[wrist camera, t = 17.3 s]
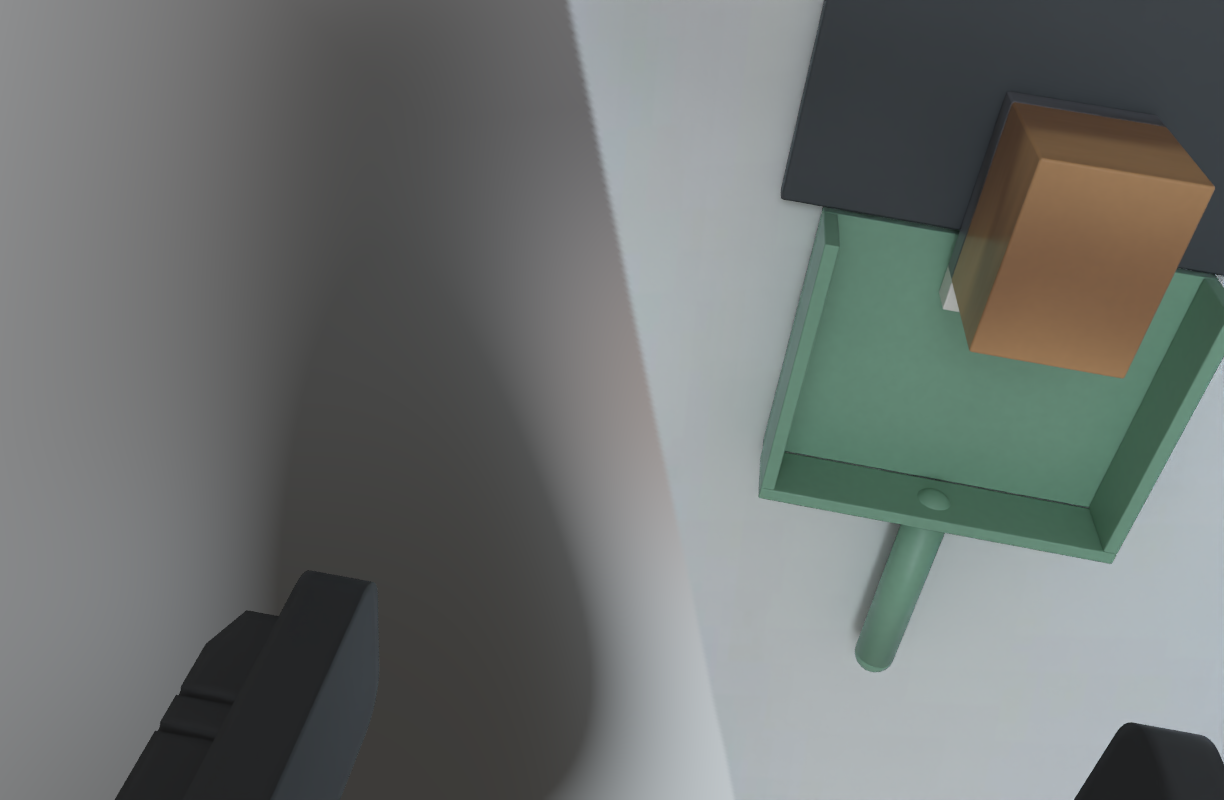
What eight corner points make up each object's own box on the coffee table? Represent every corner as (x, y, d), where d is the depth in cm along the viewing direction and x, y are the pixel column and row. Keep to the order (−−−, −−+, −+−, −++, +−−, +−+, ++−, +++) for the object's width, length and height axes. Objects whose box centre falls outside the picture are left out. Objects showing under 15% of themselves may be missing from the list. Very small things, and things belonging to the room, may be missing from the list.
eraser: (1006, 89, 32) (1040, 158, 27) (1158, 114, 32) (1217, 187, 27) (946, 266, 35) (968, 352, 31) (1083, 290, 35) (1125, 380, 31)
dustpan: (823, 206, 36) (824, 244, 33) (1215, 274, 35) (1245, 317, 33) (720, 608, 47) (716, 657, 44) (1016, 665, 46) (1028, 719, 44)
